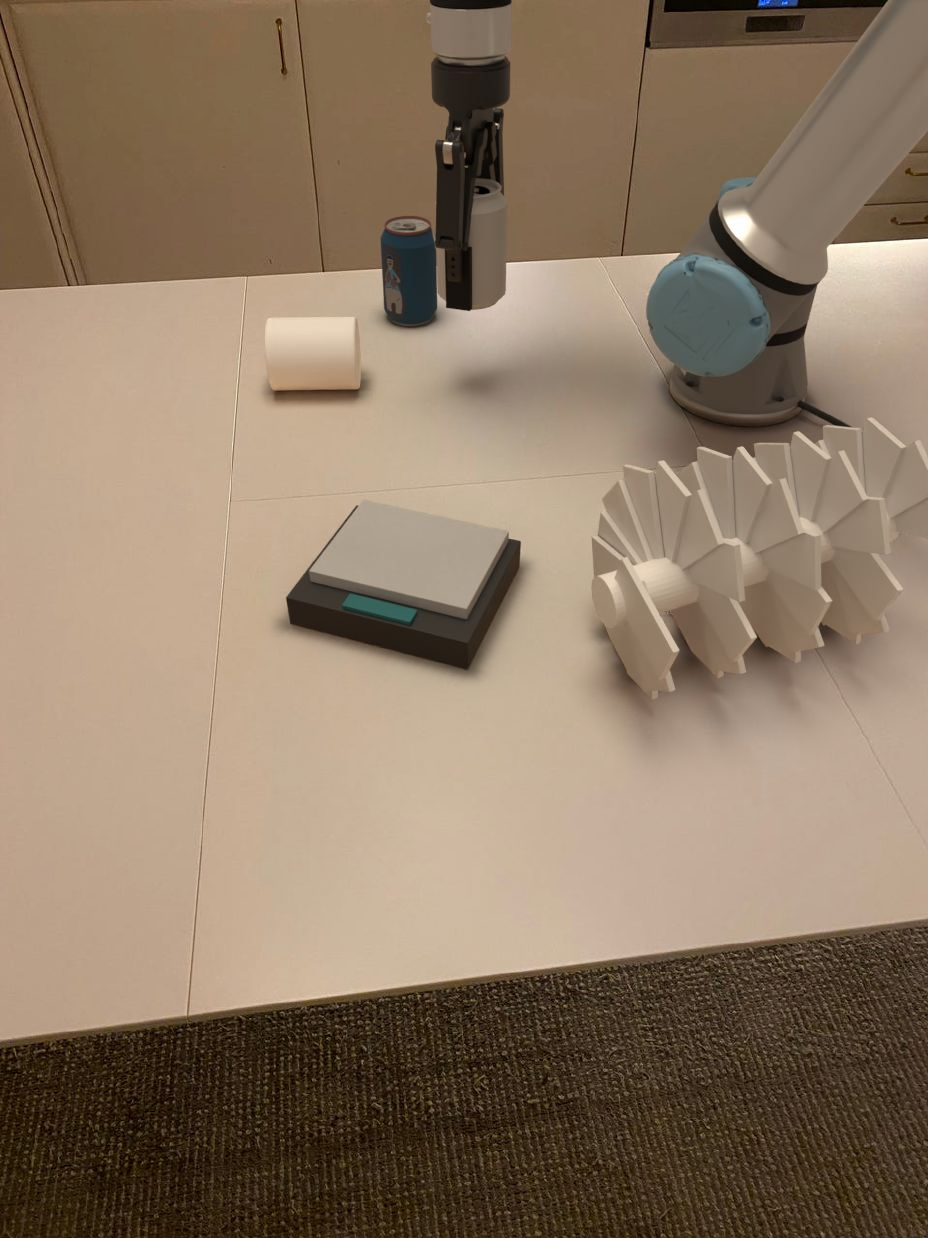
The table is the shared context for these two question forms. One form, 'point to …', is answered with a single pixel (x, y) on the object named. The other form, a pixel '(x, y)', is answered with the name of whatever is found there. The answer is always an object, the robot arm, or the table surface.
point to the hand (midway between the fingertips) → (471, 292)
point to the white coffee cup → (313, 353)
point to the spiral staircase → (756, 548)
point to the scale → (408, 583)
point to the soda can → (409, 270)
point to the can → (484, 247)
